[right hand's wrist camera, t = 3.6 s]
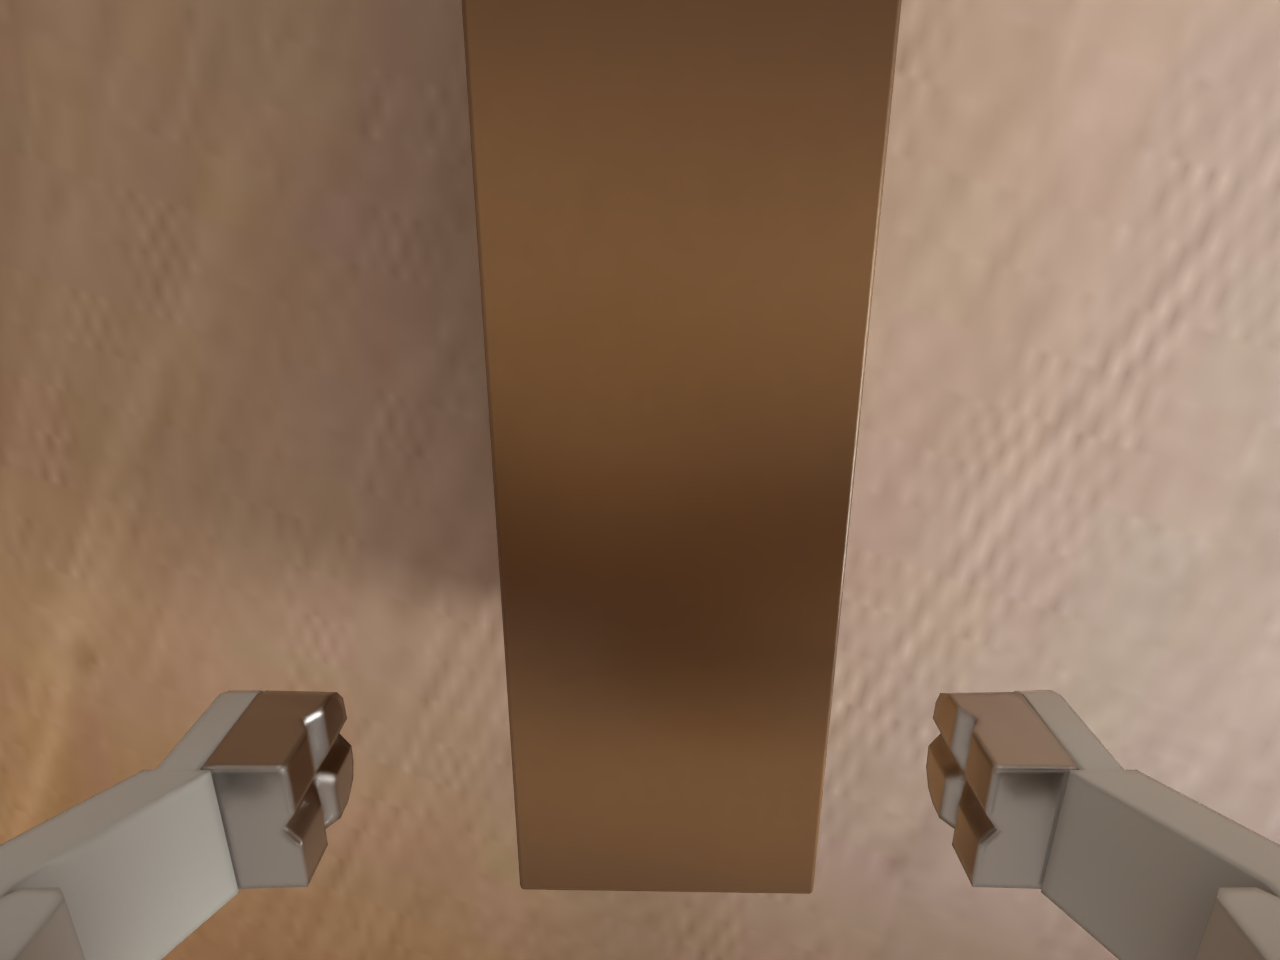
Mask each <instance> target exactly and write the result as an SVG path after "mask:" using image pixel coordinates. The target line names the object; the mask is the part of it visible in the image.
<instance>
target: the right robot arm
mask: <svg viewBox="0 0 1280 960" xmlns="http://www.w3.org/2000/svg"><path fill="white" fill-rule="evenodd" d="M346 719H347V716H346V711H345V706H344V701H343V697H341V696H340V695H339V694H338V693H337V692H307V691H227V692H224V693H221V694H220V695H219V696H218V697H217V698H216V699H215V700H214V701H213V703H212V704H211V705H210V706H209V707H208V709H207V710H206V711H205V712H204V713H203V714H202V716H201V717H200V718H199V719H198V720H197V722H196V723H195V724H194V725H193V726H192V727H191V729H190V730H189V731H188V732H187V733H186V735H185V736H184V737H183V738H182V739H181V740H180V742H179V743H178V744H177V745H176V746H175V748H174V749H173V750H172V751H171V752H170V753H169V755H168V756H167V757H166V758H165V759H164V761H163V762H162V763H161V764H160V765H159V766H158V768H157V769H156V770H143V771H141V772H139V773H137V774H135V775H133V776H131V777H129V778H127V779H125V780H124V781H122V782H120V783H118V784H116V785H114V786H112V787H110V788H108V789H106V790H104V791H103V792H101V793H99V794H97V795H95V796H93V797H91V798H89V799H87V800H85V801H83V802H82V803H80V804H78V805H76V806H74V807H72V808H70V809H68V810H66V811H64V812H62V813H60V814H59V815H57V816H55V817H53V818H51V819H49V820H47V821H45V822H43V823H41V824H39V825H38V826H36V827H34V828H32V829H30V830H28V831H26V832H24V833H22V834H20V835H18V836H16V837H15V838H13V839H11V840H9V841H7V842H5V843H3V844H1V845H0V960H161V959H162V958H163V957H164V956H166V955H167V954H168V953H169V952H170V951H171V950H173V949H174V948H175V947H176V946H177V945H178V944H180V943H181V942H182V941H183V940H184V939H185V938H186V937H188V936H189V935H190V934H191V933H192V932H193V931H195V930H196V929H197V928H198V927H199V926H200V925H202V924H203V923H204V922H205V921H206V920H207V919H209V918H210V917H211V916H212V915H213V914H214V913H215V912H217V911H218V910H219V909H220V908H221V907H222V906H224V905H225V904H226V903H227V902H228V901H229V900H231V899H232V898H233V897H234V896H235V895H236V894H238V892H239V891H238V889H246V888H280V887H308V884H309V882H310V880H311V878H312V876H313V874H314V872H315V870H316V868H317V866H318V864H319V862H320V860H321V858H322V856H323V854H324V852H325V849H326V847H327V845H328V842H327V836H326V830H325V829H326V828H327V827H329V826H330V825H331V824H333V823H334V822H336V821H337V820H338V819H340V818H341V816H342V814H343V811H344V809H345V807H346V805H347V803H348V800H349V795H350V791H351V786H352V782H353V754H352V747H351V745H350V744H349V743H348V742H347V741H346V740H345V739H344V738H343V737H342V736H341V735H340V734H339V732H340V730H341V729H342V727H343V725H344V723H345V721H346ZM933 719H934V721H935V723H936V725H937V727H938V729H939V730H940V732H941V734H940V735H939V736H938V737H937V738H936V739H935V740H934V741H933V742H932V743H931V744H930V745H929V747H928V756H927V764H926V769H927V780H928V789H929V792H930V796H931V799H932V803H933V805H934V807H935V809H936V812H937V814H938V816H939V818H940V819H942V820H943V821H944V822H946V823H947V824H949V825H950V826H951V827H953V828H954V829H955V830H954V836H953V842H952V845H953V847H954V849H955V852H956V854H957V856H958V858H959V860H960V862H961V864H962V866H963V868H964V870H965V872H966V874H967V876H968V878H969V880H970V882H971V884H972V886H973V887H998V888H1034V889H1042V890H1041V892H1042V893H1043V894H1044V895H1045V896H1046V897H1047V898H1049V899H1050V900H1051V901H1052V902H1053V903H1054V904H1056V905H1057V906H1058V907H1059V908H1060V909H1061V910H1063V911H1064V912H1065V913H1066V914H1067V915H1068V916H1069V917H1071V918H1072V919H1073V920H1074V921H1075V922H1076V923H1078V924H1079V925H1080V926H1081V927H1082V928H1083V929H1085V930H1086V931H1087V932H1088V933H1089V934H1090V935H1091V936H1093V937H1094V938H1095V939H1096V940H1097V941H1098V942H1100V943H1101V944H1102V945H1103V946H1104V947H1105V948H1107V949H1108V950H1109V951H1110V952H1111V953H1112V954H1113V955H1115V956H1116V957H1117V958H1118V959H1119V960H1280V845H1278V844H1277V843H1275V842H1273V841H1271V840H1269V839H1267V838H1265V837H1263V836H1261V835H1259V834H1257V833H1256V832H1254V831H1252V830H1250V829H1248V828H1246V827H1244V826H1242V825H1240V824H1238V823H1236V822H1235V821H1233V820H1231V819H1229V818H1227V817H1225V816H1223V815H1221V814H1219V813H1217V812H1215V811H1214V810H1212V809H1210V808H1208V807H1206V806H1204V805H1202V804H1200V803H1198V802H1196V801H1195V800H1193V799H1191V798H1189V797H1187V796H1185V795H1183V794H1181V793H1179V792H1177V791H1175V790H1174V789H1172V788H1170V787H1168V786H1166V785H1164V784H1162V783H1160V782H1158V781H1156V780H1154V779H1153V778H1151V777H1149V776H1147V775H1145V774H1143V773H1141V772H1139V771H1137V770H1124V769H1123V768H1122V766H1121V765H1120V764H1119V763H1118V762H1117V761H1116V759H1115V758H1114V757H1113V756H1112V755H1111V754H1110V752H1109V751H1108V750H1107V749H1106V748H1105V746H1104V745H1103V744H1102V743H1101V742H1100V741H1099V739H1098V738H1097V737H1096V736H1095V735H1094V733H1093V732H1092V731H1091V730H1090V729H1089V728H1088V726H1087V725H1086V724H1085V723H1084V722H1083V720H1082V719H1081V718H1080V717H1079V716H1078V715H1077V713H1076V712H1075V711H1074V710H1073V709H1072V707H1071V706H1070V705H1069V704H1068V703H1067V702H1066V700H1065V699H1064V698H1063V697H1062V696H1061V695H1060V694H1059V693H1057V692H1055V691H1052V690H1036V691H1014V692H985V693H940V695H939V697H938V699H937V701H936V704H935V710H934V715H933Z"/></svg>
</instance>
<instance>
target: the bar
mask: <svg viewBox="0 0 1280 960" xmlns="http://www.w3.org/2000/svg"><path fill="white" fill-rule="evenodd" d="M901 1H902V0H462V12H463V27H464V42H465V58H466V73H467V88H468V103H469V118H470V133H471V148H472V163H473V178H474V194H475V209H476V224H477V239H478V254H479V269H480V284H481V299H482V314H483V330H484V345H485V360H486V375H487V390H488V405H489V420H490V435H491V450H492V466H493V481H494V496H495V511H496V526H497V541H498V556H499V571H500V586H501V602H502V617H503V632H504V647H505V662H506V677H507V692H508V707H509V722H510V738H511V753H512V768H513V783H514V798H515V813H516V828H517V843H518V858H519V874H520V885H521V888H522V889H546V890H612V891H677V892H743V893H812V891H813V884H814V874H815V864H816V854H817V844H818V834H819V824H820V814H821V804H822V794H823V784H824V774H825V764H826V754H827V744H828V734H829V724H830V714H831V704H832V693H833V683H834V673H835V663H836V653H837V643H838V633H839V623H840V613H841V603H842V593H843V583H844V573H845V563H846V553H847V543H848V533H849V523H850V513H851V503H852V493H853V483H854V473H855V463H856V453H857V443H858V433H859V423H860V413H861V403H862V393H863V383H864V373H865V363H866V352H867V342H868V332H869V322H870V312H871V302H872V292H873V282H874V272H875V262H876V252H877V242H878V232H879V222H880V212H881V202H882V192H883V182H884V172H885V162H886V152H887V142H888V132H889V122H890V112H891V102H892V92H893V82H894V72H895V62H896V52H897V42H898V32H899V21H900V11H901Z"/></svg>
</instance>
